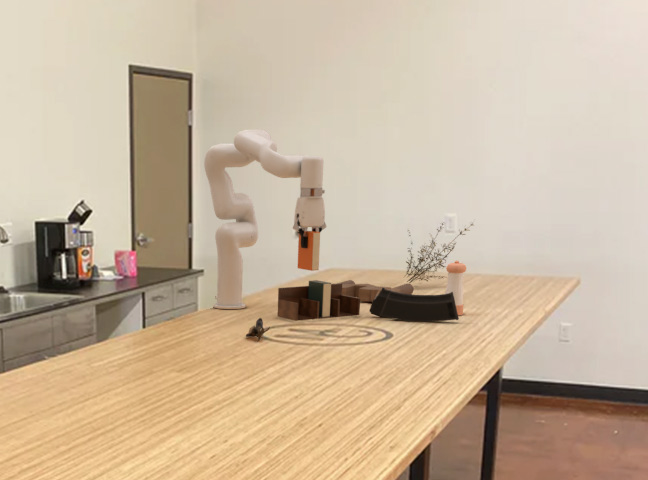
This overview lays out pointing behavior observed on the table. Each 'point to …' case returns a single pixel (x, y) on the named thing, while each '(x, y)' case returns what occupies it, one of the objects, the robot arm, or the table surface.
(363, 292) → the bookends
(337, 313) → the book rack
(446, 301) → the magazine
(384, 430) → the table surface
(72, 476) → the table surface
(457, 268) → the pepper shaker
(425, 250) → the dried plant
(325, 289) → the green book
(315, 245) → the orange book
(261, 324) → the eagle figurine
